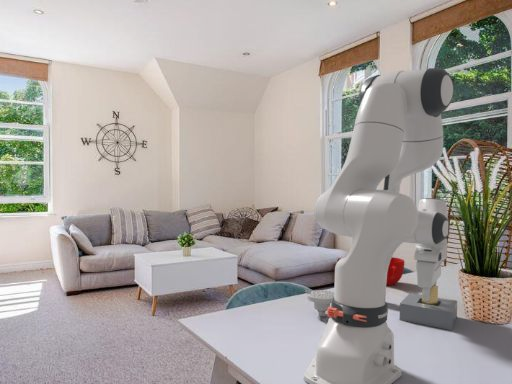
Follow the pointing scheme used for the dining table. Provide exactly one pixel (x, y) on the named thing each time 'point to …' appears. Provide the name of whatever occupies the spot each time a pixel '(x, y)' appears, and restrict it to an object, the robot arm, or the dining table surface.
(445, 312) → the fitting block
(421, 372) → the dining table surface
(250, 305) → the dining table surface
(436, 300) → the brass pipe
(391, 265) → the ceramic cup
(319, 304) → the showerhead
